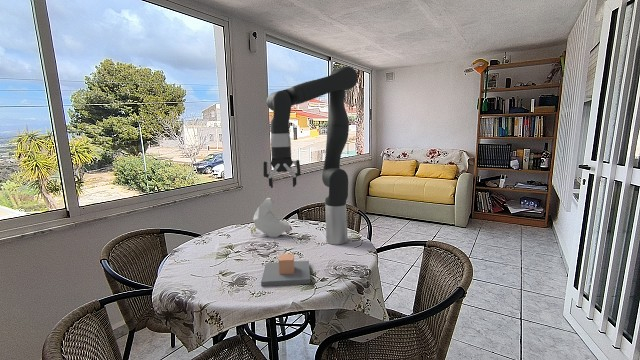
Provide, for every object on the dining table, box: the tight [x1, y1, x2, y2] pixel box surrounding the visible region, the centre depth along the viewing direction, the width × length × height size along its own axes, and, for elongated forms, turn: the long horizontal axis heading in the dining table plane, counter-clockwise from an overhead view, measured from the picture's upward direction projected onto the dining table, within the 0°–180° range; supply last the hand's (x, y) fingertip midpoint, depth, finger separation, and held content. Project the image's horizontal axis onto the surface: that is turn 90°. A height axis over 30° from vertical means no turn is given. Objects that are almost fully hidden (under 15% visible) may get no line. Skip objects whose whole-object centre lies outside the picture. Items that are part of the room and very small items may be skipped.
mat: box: [260, 260, 311, 287], centre depth 105 cm, size 16×14×2 cm
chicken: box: [250, 197, 293, 238], centre depth 144 cm, size 7×19×20 cm
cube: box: [278, 253, 295, 274], centre depth 104 cm, size 5×5×5 cm
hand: (282, 187), depth 117 cm, fingers open, 8 cm apart
